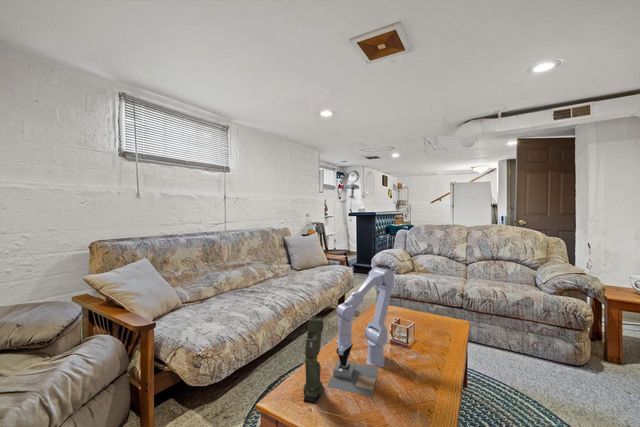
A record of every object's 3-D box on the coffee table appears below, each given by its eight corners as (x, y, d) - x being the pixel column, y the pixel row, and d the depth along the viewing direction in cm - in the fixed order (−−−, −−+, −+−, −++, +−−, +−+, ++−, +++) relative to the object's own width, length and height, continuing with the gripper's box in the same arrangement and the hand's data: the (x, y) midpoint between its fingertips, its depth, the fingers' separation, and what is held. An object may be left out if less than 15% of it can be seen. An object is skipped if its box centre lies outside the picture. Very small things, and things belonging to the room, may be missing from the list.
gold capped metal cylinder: (341, 369, 121) (341, 351, 121) (349, 371, 120) (349, 353, 120) (339, 374, 118) (339, 355, 118) (347, 375, 117) (347, 357, 117)
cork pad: (359, 376, 117) (359, 375, 117) (375, 380, 114) (375, 378, 114) (355, 386, 110) (355, 385, 110) (373, 390, 108) (373, 389, 108)
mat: (339, 361, 129) (339, 360, 129) (378, 368, 123) (378, 367, 123) (327, 387, 110) (327, 386, 110) (371, 397, 104) (371, 396, 104)
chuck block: (338, 366, 124) (338, 359, 124) (355, 369, 122) (355, 363, 122) (333, 376, 117) (333, 369, 117) (351, 380, 114) (351, 373, 114)
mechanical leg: (317, 410, 97) (321, 320, 103) (297, 407, 98) (303, 318, 104) (324, 394, 110) (327, 315, 116) (306, 391, 111) (311, 314, 118)
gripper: (340, 324, 127) (340, 353, 127) (331, 338, 113) (331, 370, 114) (355, 326, 125) (355, 355, 125) (347, 341, 111) (347, 374, 111)
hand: (344, 363), depth 119 cm, fingers closed on gold capped metal cylinder, 3 cm apart
